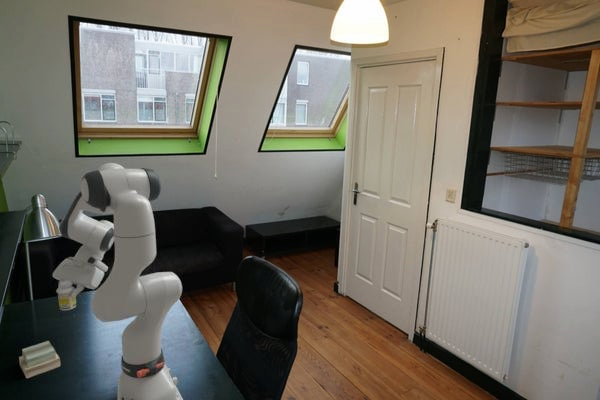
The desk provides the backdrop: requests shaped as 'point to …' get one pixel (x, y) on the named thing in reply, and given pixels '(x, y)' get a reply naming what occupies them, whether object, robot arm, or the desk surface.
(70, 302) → the supplement bottle
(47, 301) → the desk surface
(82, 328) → the desk surface
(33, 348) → the two-tone square platform
